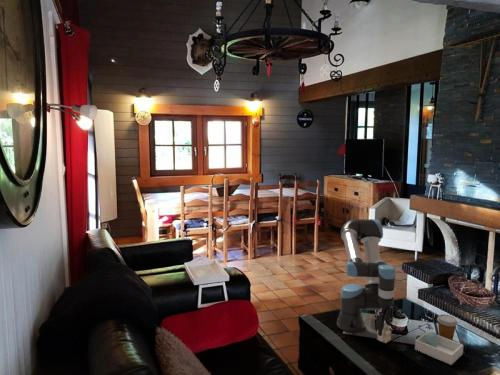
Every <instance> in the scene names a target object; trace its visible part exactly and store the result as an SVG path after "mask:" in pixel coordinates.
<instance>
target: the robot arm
mask: <svg viewBox="0 0 500 375" xmlns="http://www.w3.org/2000/svg"><path fill="white" fill-rule="evenodd" d="M383 237H384V229H383V225H382V223H381V221H380V220H379V219H372V218H371V219H358V218H353V219H349V220H347V221H346V222H345V223H344V224H343V225H342V227H341V229H340V238H341V239H342V240H343V244H344V248H345V253H346V258H347V262H346V263H345V273H346V274H345V275H346V276H347V277H353V278H366V284H364V287H363V285H360V284H357V283H347V284H345V285H343V286H342V287H341V290H340V310H339V314H338V316H337V319H336V325H337V327H338V328H339V329H340V330H342V331H344V332H347V333H359V332H362V331H363V330H364V329H365V320H364V317H363V314H362V312H363V311H364V310H366V311H375V315H376V317H375V330H378V340H377V341H379V342H382V343H384V342H383V339H384V329H383V327H384V328H386V329H389V330H391V327H392V326H393V322H394V308H395V304H394V300H395V298H394V297H395V286H396V267H394V266H393V265H390V264H388V263H387V262H385V261H384V260H381V256H380V255H381V254H380V246H379V243H380V242H381V241H382V239H383ZM358 239H360V242H361V243H362V244H363V251H364V252H363V253H364V260H363V257H362V253H361V250H360V246H359V241H358Z"/></svg>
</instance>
